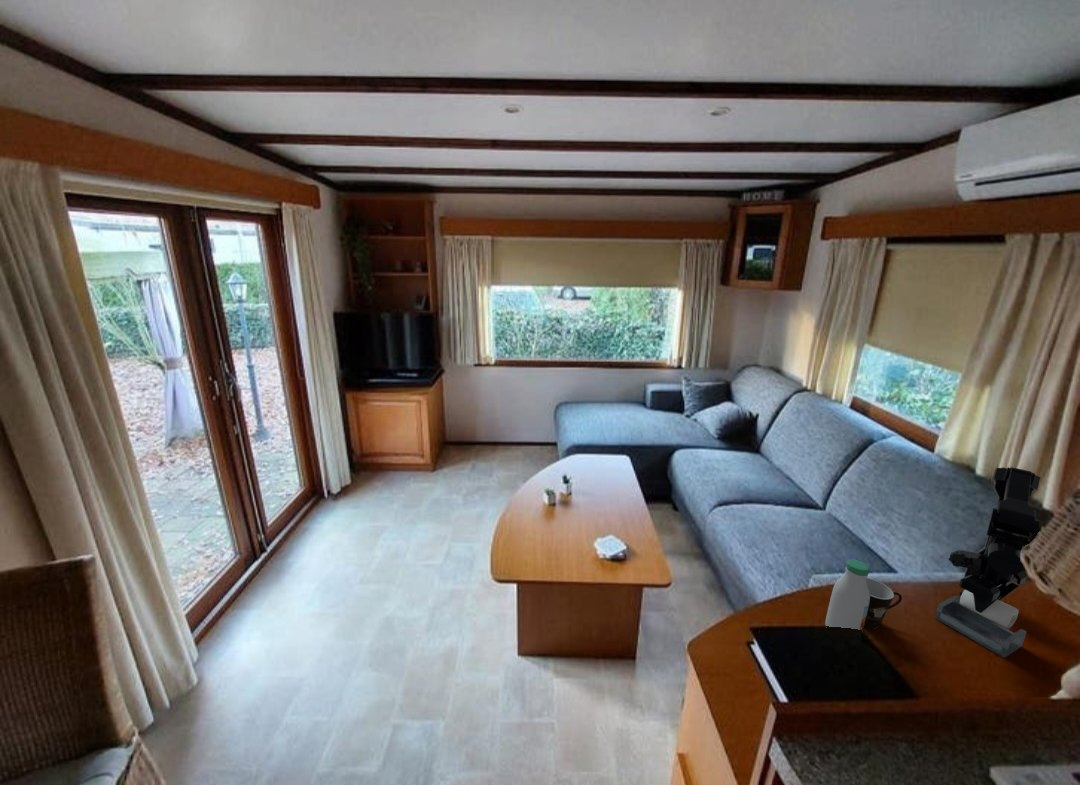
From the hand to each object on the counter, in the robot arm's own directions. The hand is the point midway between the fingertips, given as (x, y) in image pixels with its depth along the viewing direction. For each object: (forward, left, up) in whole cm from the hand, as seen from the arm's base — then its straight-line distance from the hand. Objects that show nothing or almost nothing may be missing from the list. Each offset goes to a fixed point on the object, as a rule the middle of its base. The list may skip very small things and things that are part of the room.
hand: (984, 608), depth 111 cm
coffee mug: (+22, -13, -8) cm, 27 cm away
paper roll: (+1, +1, -2) cm, 2 cm away
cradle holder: (0, 0, -7) cm, 7 cm away
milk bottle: (+33, -14, -8) cm, 37 cm away
